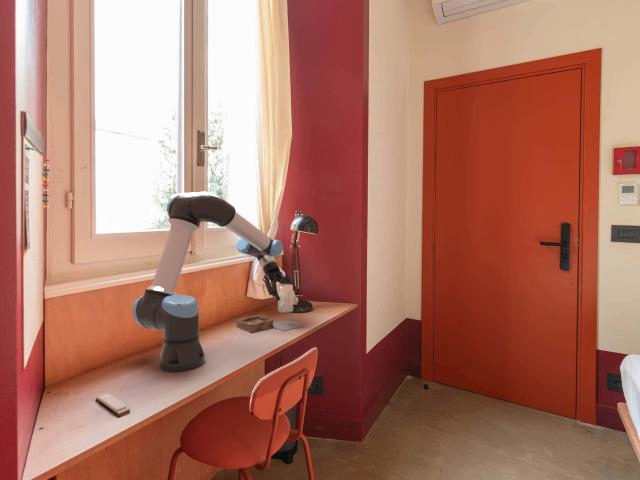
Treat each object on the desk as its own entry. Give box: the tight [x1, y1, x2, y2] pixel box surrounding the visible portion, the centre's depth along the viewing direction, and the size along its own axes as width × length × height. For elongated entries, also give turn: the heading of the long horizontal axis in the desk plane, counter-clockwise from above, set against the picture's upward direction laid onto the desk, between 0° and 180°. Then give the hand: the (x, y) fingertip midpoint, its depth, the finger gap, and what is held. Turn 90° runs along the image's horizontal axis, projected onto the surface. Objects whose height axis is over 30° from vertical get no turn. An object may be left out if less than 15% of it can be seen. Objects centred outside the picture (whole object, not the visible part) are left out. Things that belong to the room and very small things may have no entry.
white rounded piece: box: [277, 283, 295, 314], centre depth 177 cm, size 7×10×12 cm
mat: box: [272, 319, 304, 332], centre depth 178 cm, size 12×12×1 cm
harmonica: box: [95, 393, 131, 418], centre depth 104 cm, size 15×3×2 cm, turn 51°
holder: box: [236, 314, 274, 334], centre depth 176 cm, size 12×12×4 cm
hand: (290, 304), depth 175 cm, fingers closed on white rounded piece, 7 cm apart
